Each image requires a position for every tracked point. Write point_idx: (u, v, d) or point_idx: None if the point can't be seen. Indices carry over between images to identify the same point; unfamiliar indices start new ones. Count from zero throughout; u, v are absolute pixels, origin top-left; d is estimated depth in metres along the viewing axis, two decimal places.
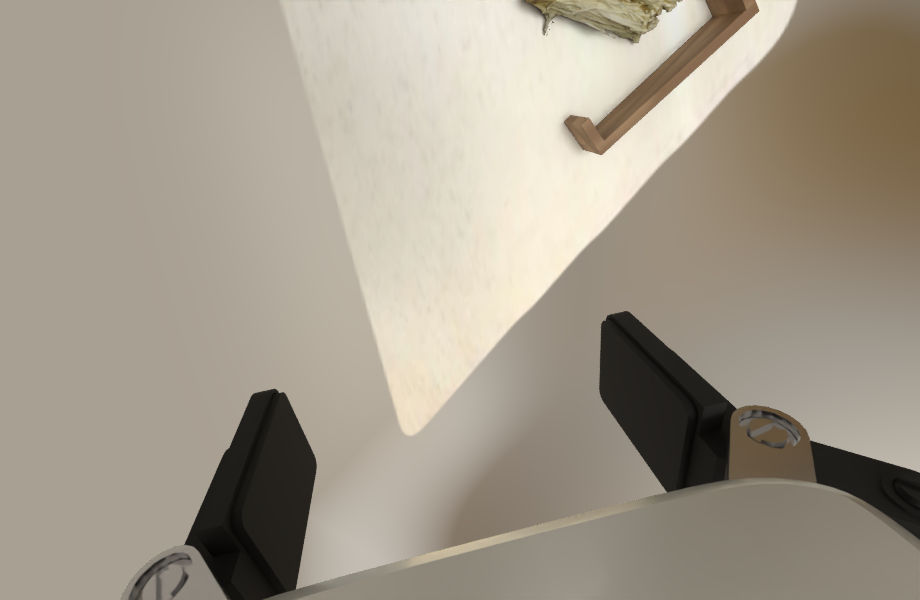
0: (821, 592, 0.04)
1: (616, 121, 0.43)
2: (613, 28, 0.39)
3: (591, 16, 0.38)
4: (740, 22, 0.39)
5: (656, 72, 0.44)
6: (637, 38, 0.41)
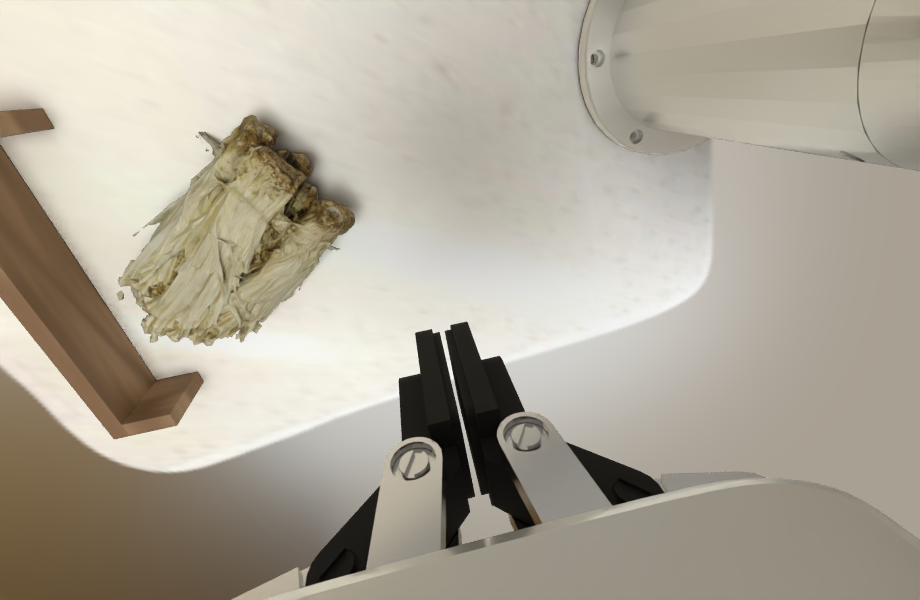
0: (821, 592, 0.04)
1: None
2: None
3: (179, 208, 0.22)
4: (104, 416, 0.26)
5: (91, 294, 0.26)
6: None
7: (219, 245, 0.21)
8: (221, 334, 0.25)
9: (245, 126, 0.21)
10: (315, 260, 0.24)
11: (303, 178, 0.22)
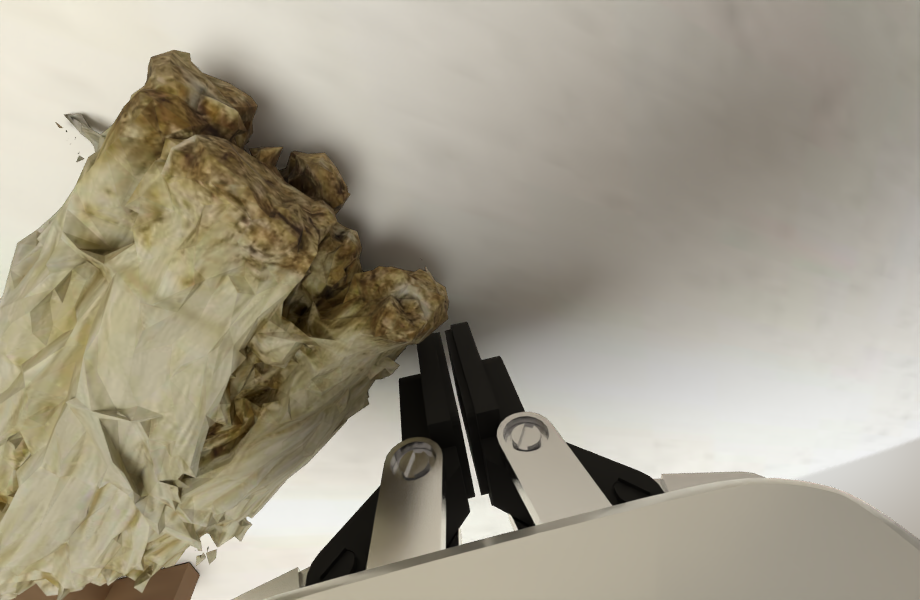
0: (821, 592, 0.04)
1: None
2: None
3: None
4: None
5: None
6: None
7: (107, 425, 0.08)
8: (162, 565, 0.11)
9: (149, 78, 0.07)
10: (363, 404, 0.10)
11: (331, 222, 0.08)
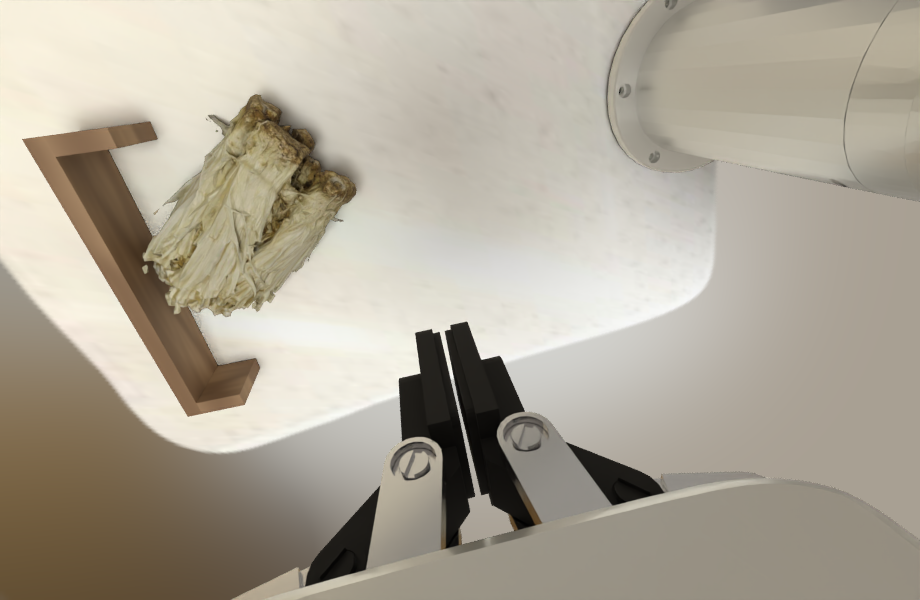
0: (821, 592, 0.04)
1: (100, 198, 0.23)
2: (172, 216, 0.25)
3: (194, 184, 0.24)
4: (182, 395, 0.29)
5: None
6: None
7: (234, 216, 0.23)
8: (238, 304, 0.27)
9: (251, 104, 0.22)
10: (322, 229, 0.26)
11: (307, 150, 0.24)
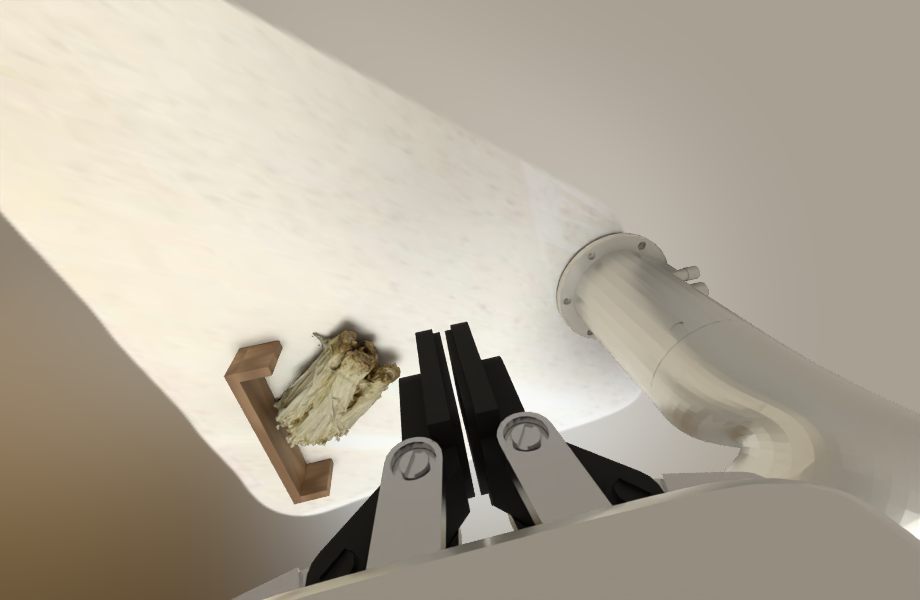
0: (821, 592, 0.04)
1: (254, 392, 0.40)
2: (291, 392, 0.42)
3: (308, 380, 0.41)
4: (292, 492, 0.46)
5: None
6: (277, 406, 0.44)
7: (332, 401, 0.40)
8: (328, 439, 0.44)
9: (343, 340, 0.39)
10: (379, 396, 0.43)
11: (373, 361, 0.40)
